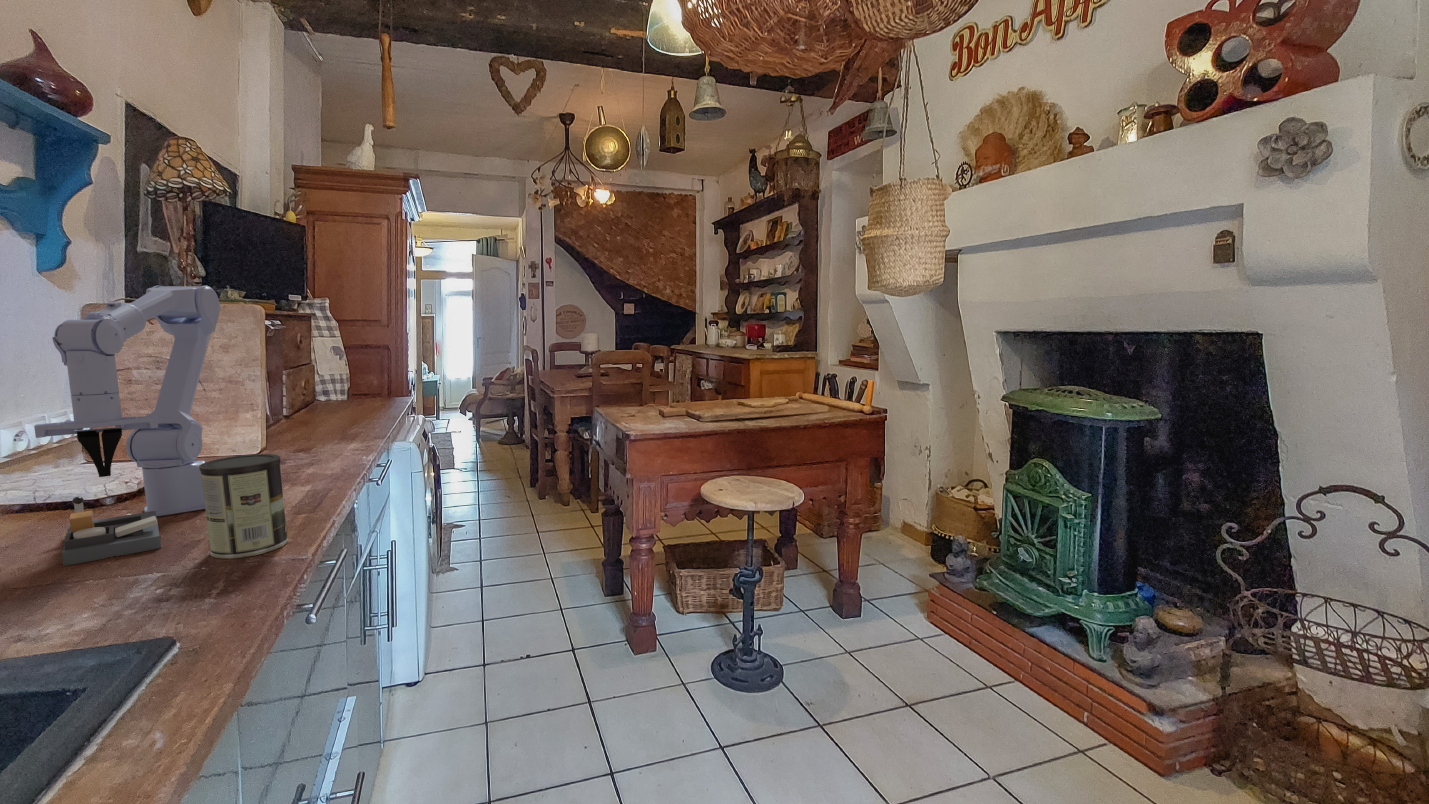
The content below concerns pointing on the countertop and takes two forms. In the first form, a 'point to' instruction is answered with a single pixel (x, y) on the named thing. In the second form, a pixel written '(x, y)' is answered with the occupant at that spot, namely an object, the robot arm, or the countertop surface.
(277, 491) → the coffee can
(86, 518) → the slider
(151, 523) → the beige flat panel
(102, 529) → the button
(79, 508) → the lever
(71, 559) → the console
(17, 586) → the countertop surface
